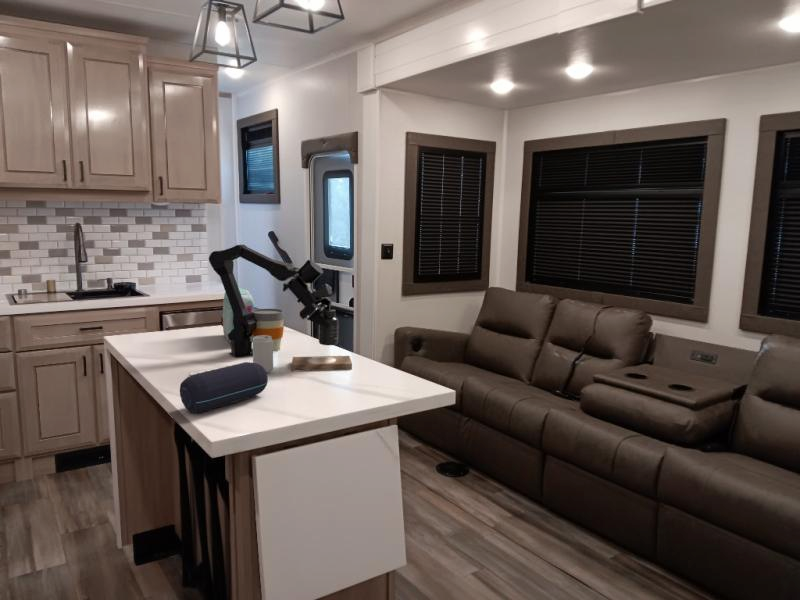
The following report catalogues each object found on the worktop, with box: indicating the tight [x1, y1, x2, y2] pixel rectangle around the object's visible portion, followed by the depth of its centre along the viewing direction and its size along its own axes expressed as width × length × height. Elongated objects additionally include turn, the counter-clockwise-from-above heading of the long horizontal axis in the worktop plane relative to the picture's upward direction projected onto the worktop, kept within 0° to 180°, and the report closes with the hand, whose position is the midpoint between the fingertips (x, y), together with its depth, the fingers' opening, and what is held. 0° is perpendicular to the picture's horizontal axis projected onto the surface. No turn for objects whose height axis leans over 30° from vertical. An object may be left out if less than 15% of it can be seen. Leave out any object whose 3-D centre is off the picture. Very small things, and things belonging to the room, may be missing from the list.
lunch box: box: [220, 286, 255, 344], centre depth 238 cm, size 27×10×21 cm, turn 25°
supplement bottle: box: [318, 308, 339, 346], centre depth 205 cm, size 7×7×12 cm
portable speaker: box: [179, 361, 269, 413], centre depth 159 cm, size 25×10×10 cm, turn 144°
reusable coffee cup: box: [252, 308, 286, 352], centre depth 222 cm, size 13×13×15 cm
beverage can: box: [252, 335, 274, 375], centre depth 191 cm, size 6×6×12 cm
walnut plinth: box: [291, 355, 353, 371], centre depth 201 cm, size 20×11×2 cm, turn 99°
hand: (332, 325), depth 205 cm, fingers closed on supplement bottle, 7 cm apart
